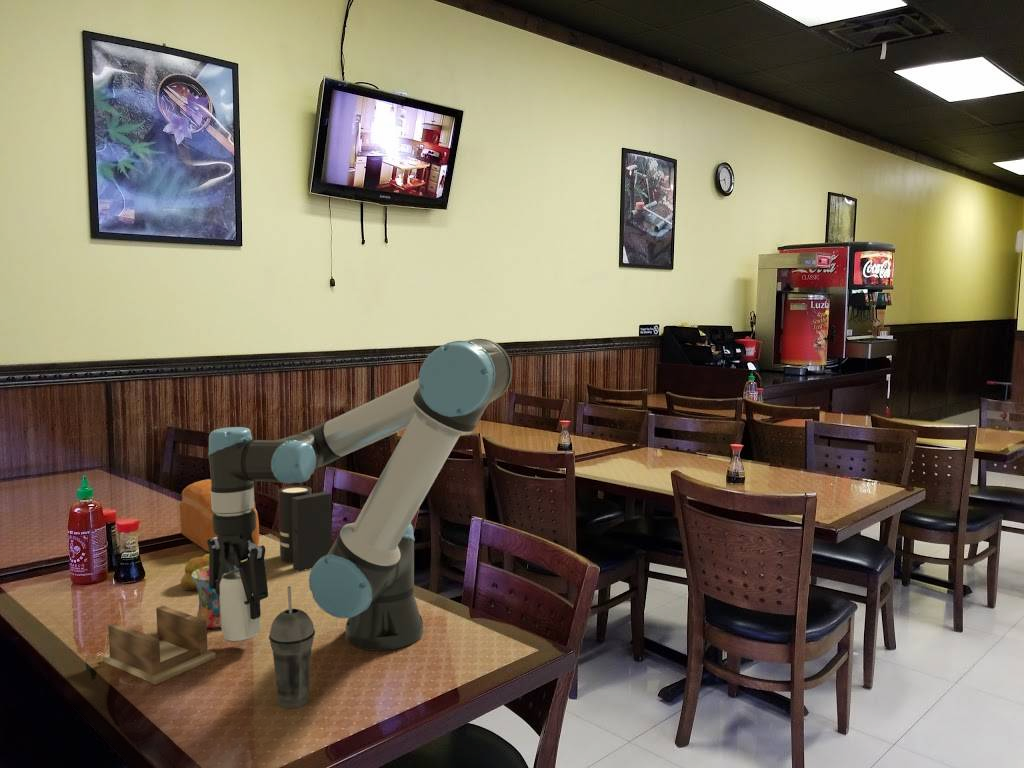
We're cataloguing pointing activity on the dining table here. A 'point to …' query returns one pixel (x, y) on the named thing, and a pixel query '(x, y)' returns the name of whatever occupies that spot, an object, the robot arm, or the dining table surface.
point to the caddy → (160, 646)
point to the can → (233, 607)
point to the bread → (202, 514)
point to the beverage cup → (292, 654)
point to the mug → (207, 598)
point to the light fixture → (304, 526)
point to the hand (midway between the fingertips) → (240, 630)
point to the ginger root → (190, 568)
